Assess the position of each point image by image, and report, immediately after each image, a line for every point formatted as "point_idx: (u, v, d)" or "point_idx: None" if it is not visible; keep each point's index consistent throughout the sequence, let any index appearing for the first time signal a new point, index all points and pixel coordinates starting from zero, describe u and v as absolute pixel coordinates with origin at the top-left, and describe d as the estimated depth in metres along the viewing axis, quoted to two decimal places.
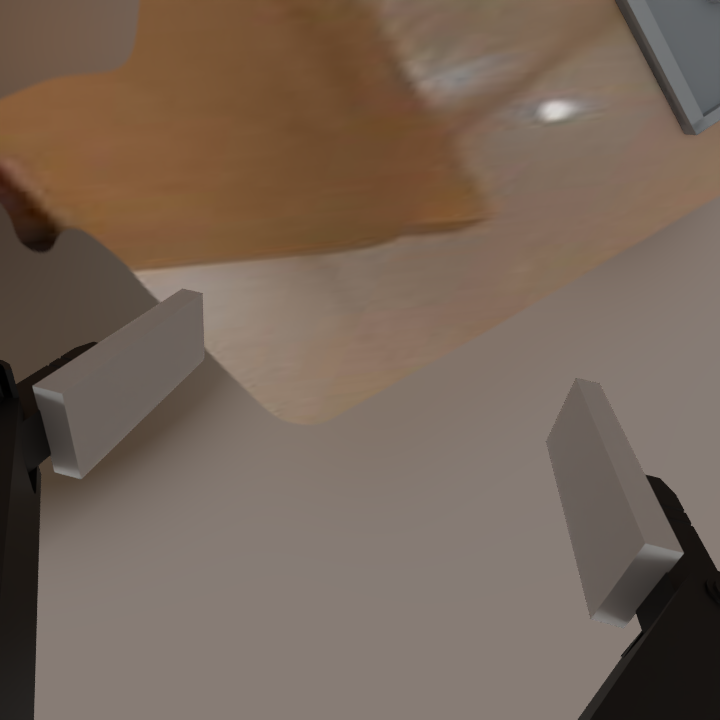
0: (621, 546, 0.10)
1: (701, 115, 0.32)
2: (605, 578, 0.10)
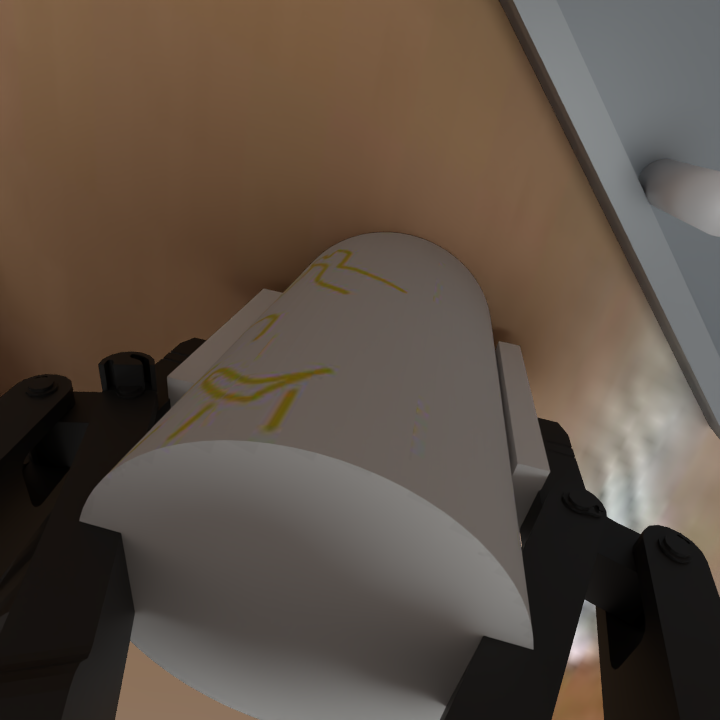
0: None
1: None
2: None
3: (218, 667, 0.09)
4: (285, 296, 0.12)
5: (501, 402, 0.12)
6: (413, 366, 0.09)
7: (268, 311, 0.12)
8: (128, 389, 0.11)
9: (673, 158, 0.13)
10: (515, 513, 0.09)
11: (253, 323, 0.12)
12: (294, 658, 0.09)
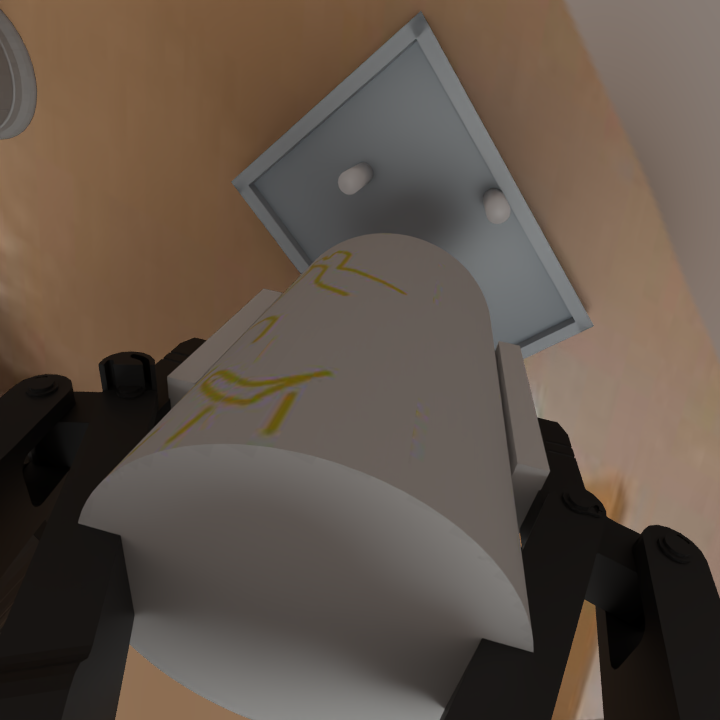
0: None
1: (572, 324, 0.29)
2: None
3: (217, 670, 0.09)
4: (285, 297, 0.12)
5: (501, 404, 0.12)
6: (412, 368, 0.09)
7: (268, 313, 0.12)
8: (128, 389, 0.11)
9: None
10: (515, 516, 0.08)
11: (253, 325, 0.12)
12: (294, 661, 0.09)
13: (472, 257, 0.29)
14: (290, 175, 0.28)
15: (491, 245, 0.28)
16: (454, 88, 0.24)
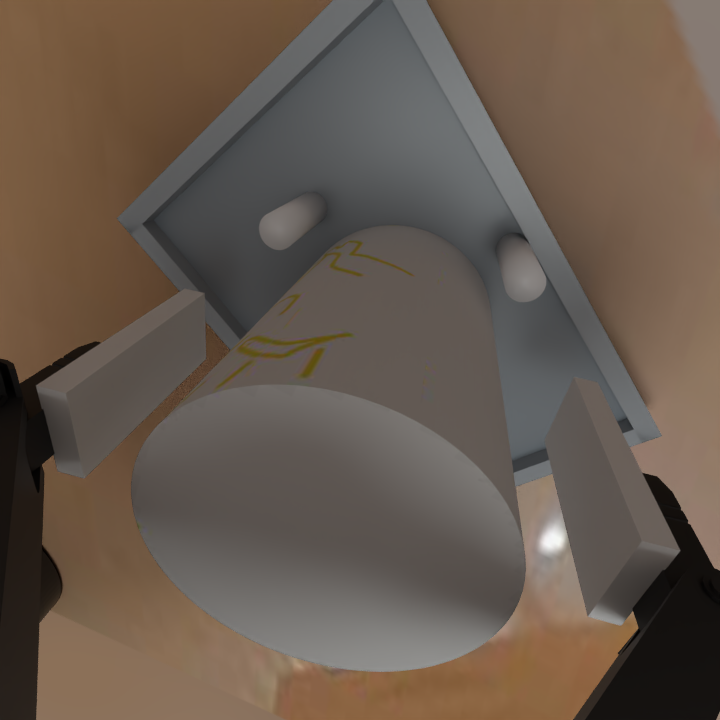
0: (618, 544, 0.10)
1: (629, 432, 0.19)
2: (602, 576, 0.10)
3: (249, 602, 0.11)
4: (303, 280, 0.14)
5: (499, 375, 0.13)
6: (421, 334, 0.10)
7: (288, 293, 0.13)
8: None
9: None
10: (511, 462, 0.10)
11: (275, 304, 0.13)
12: (318, 589, 0.10)
13: None
14: (205, 209, 0.19)
15: (508, 315, 0.19)
16: (451, 75, 0.14)
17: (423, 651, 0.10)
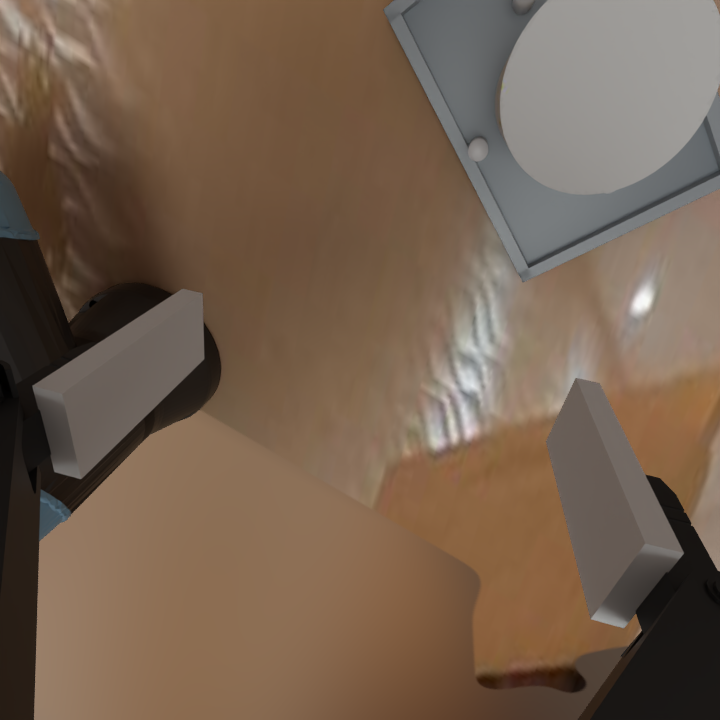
0: (621, 546, 0.10)
1: None
2: (605, 578, 0.10)
3: (548, 142, 0.20)
4: None
5: None
6: None
7: None
8: None
9: (482, 136, 0.31)
10: None
11: None
12: (596, 120, 0.19)
13: None
14: (444, 6, 0.28)
15: None
16: None
17: (645, 164, 0.19)
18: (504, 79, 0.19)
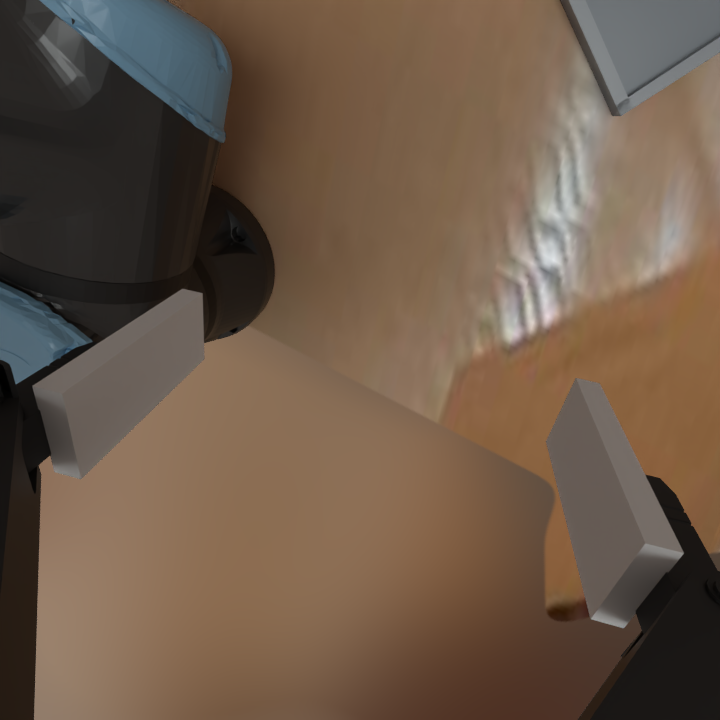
0: (621, 546, 0.10)
1: None
2: (605, 578, 0.10)
3: None
4: None
5: None
6: None
7: None
8: None
9: None
10: None
11: None
12: None
13: None
14: None
15: None
16: None
17: None
18: None
